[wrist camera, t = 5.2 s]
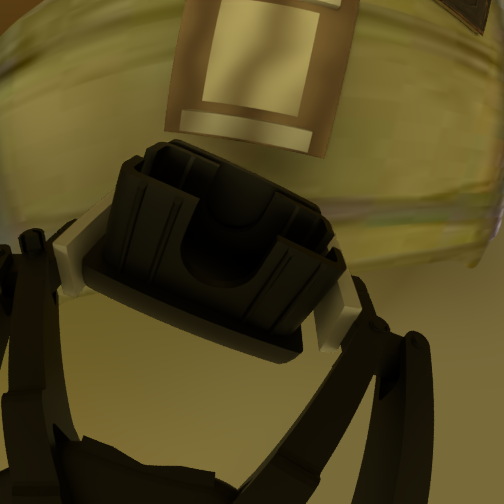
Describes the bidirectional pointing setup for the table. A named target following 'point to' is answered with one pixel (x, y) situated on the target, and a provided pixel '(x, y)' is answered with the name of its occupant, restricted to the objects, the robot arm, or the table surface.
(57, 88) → the table surface
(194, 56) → the display riser
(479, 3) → the hardcover book
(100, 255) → the black notched block
